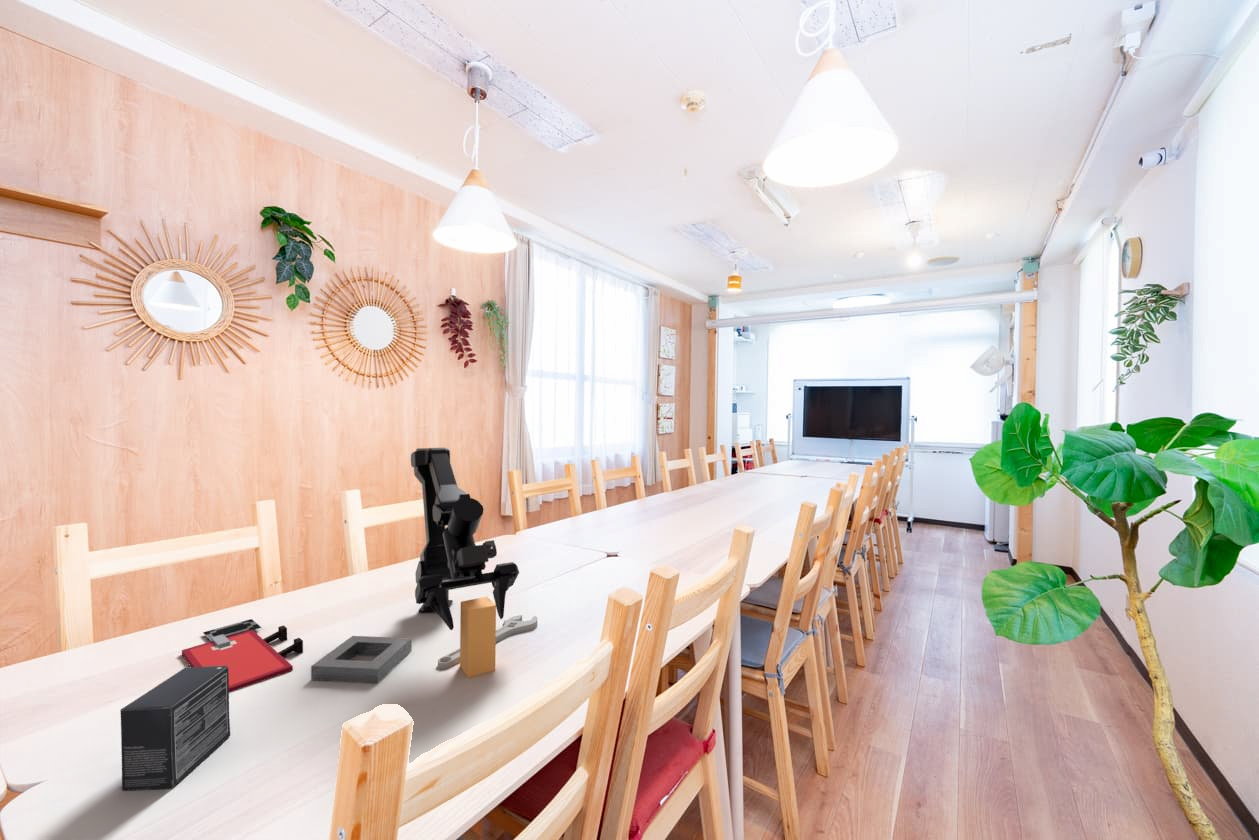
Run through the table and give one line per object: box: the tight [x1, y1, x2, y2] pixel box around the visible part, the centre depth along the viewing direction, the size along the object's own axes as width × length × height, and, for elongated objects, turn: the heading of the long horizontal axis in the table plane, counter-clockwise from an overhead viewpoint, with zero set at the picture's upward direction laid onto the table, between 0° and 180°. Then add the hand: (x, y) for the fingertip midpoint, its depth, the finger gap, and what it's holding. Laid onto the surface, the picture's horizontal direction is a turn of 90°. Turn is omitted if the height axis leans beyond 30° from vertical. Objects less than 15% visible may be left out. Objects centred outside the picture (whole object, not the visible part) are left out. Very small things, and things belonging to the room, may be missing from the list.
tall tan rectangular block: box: [459, 596, 497, 678], centre depth 94 cm, size 5×5×12 cm
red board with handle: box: [181, 618, 304, 693], centre depth 99 cm, size 30×3×15 cm
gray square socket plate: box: [310, 635, 413, 684], centre depth 95 cm, size 12×12×2 cm
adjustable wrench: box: [437, 614, 538, 669], centre depth 105 cm, size 25×6×2 cm, turn 145°
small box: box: [119, 666, 231, 792], centre depth 68 cm, size 11×6×10 cm, turn 5°
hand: (477, 623), depth 94 cm, fingers open, 9 cm apart
